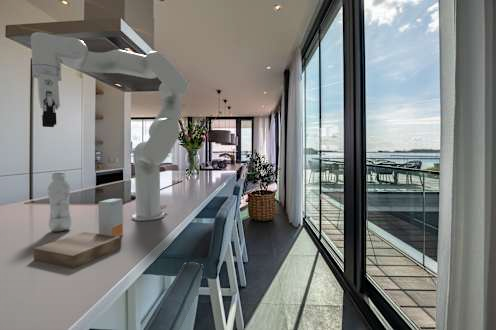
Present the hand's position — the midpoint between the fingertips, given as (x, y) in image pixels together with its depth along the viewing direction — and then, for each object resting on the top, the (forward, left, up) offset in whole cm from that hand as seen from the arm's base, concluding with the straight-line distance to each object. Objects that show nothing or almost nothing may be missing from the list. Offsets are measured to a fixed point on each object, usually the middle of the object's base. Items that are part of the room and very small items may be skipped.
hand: (49, 125), depth 85 cm
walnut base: (+10, +26, -36) cm, 46 cm away
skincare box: (-3, +23, -36) cm, 43 cm away
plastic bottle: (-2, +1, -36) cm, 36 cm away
